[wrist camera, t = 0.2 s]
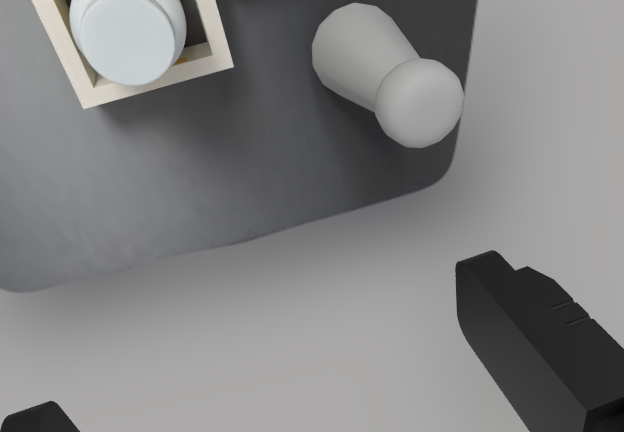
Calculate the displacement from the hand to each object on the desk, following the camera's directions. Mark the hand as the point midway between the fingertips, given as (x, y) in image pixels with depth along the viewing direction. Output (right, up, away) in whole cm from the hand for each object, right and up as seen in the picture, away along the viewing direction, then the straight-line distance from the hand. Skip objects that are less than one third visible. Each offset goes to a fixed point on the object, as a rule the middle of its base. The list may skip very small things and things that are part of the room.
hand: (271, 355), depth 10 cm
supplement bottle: (-10, +16, +20) cm, 28 cm away
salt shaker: (+3, +15, +25) cm, 29 cm away
